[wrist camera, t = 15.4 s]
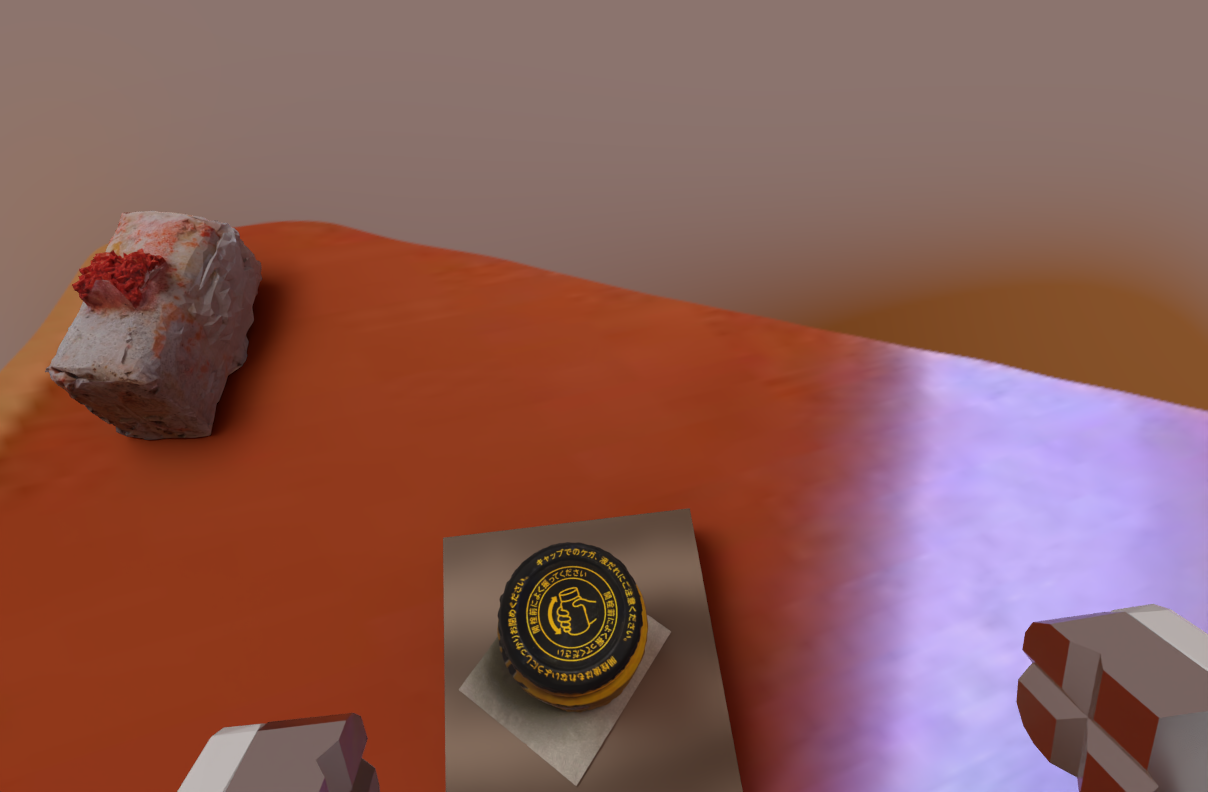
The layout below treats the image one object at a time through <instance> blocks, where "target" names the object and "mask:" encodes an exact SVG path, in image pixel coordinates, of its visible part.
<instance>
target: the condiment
mask: <svg viewBox="0 0 1208 792" xmlns="http://www.w3.org/2000/svg"><path fill="white" fill-rule="evenodd" d="M499 600H500V608H499V611H498V615H497V616H498V628H497V630H498V632H497V634H498V637H497V638H496V640H495V641H494V642H493V644H492V645H491V646H490V648H489V649H488V651H487V652H486V653H485V654H484V656H483V657H482V659H481V660H480V661H479V663H478V664H477V665H476V667H475V668H474V669H473V671H472V672H471V673H470V675H469V676H468V677H467V679H466V680H465V682H464V683H463V684H462V686H461V687H460V689H459V691H461V692H462V693H463V694H464V695H466V696H467V697H468V698H469V699H471V700H472V701H473V702H474V703H476V704H477V705H478V706H479V707H480V708H482V709H483V710H484V711H485V712H487V713H488V714H489V715H490V716H492V717H493V718H494V719H495V720H496V721H498V722H499V723H500V724H501V725H503V726H504V727H505V728H506V729H508V730H509V731H510V732H511V733H512V734H514V735H515V736H516V737H517V738H518V739H520V740H521V741H522V742H523V743H525V744H526V745H527V746H528V747H529V748H531V749H532V750H533V751H534V752H535V753H537V754H538V755H539V756H540V757H541V758H543V759H544V760H545V761H546V762H548V763H549V764H550V765H551V766H553V767H554V768H555V769H556V770H557V771H558V772H560V773H561V774H562V775H563V776H565V777H566V778H567V779H568V780H569V781H571V782H572V783H573V784H574V785H576V786H577V784H578V783H579V781H580V779H581V778H582V776H583V774H584V773H585V771H586V770H587V768H588V766H589V765H590V763H591V761H592V760H593V758H594V757H595V755H596V753H597V752H598V750H599V748H600V747H601V745H602V744H603V742H604V740H605V738H606V737H607V735H608V734H609V732H610V731H611V729H612V727H613V726H614V724H615V722H616V721H617V719H618V718H619V716H620V714H621V713H622V711H623V709H624V708H625V706H626V705H627V703H628V701H629V700H630V698H631V696H632V695H633V693H634V691H635V690H636V688H637V687H638V685H639V683H640V682H641V680H642V678H643V677H644V675H645V674H646V672H647V670H648V669H649V667H650V665H651V664H652V662H653V661H654V659H655V657H656V656H657V654H658V652H659V651H660V649H661V648H662V646H663V644H664V643H665V641H666V639H667V638H668V636H669V635H670V633H671V631H670V630H668V629H667V628H665V627H664V626H663V625H661V624H660V623H658V622H657V621H656V620H654V619H653V618H652V617H650V616H648V615H647V613H646V607H645V603H644V600H643V596H642V594H641V592H640V590H639V588H638V586H637V584H636V583H635V581H634V578H633V577H632V576H631V575H630V574H629V572H628V570H627V568H626V566H625V565H624V564H623V563H622V562H621V561H620V560H619V559H617V558H616V557H614V556H613V555H612V554H611V553H610V552H607V551H605V550H603V549H601V548H600V547H596V546H593V545H587V544H584V543H580V542H577V543H571V542H566V543H558V544H554V545H550V546H548V547H546V548H543V549H541V550H539V551H538V552H536V553H534V554H533V555H531V556H530V557H529V558H527V559H526V560H524V561H523V562H522V563H521V565H520V566H519V567H518V568H517V569H516V570H515V571H514V573H513V574H512V576H511V578H510V580H509V581H508V582H507V583H506V586H505V590H504V593H503V594H502V595H501V596H500V599H499Z"/></svg>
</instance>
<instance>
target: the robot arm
mask: <svg viewBox="0 0 1208 792" xmlns="http://www.w3.org/2000/svg"><path fill="white" fill-rule="evenodd" d="M1023 651H1024V652H1025V654H1026V655H1027V656H1028V658H1029V659H1030V660H1031V662H1032V664H1031V665H1030V666H1029V667H1028V669H1027V670H1026V671H1025V672H1024V673H1023V675H1022V676H1021V677H1020V678H1019V679H1018V690H1017V705H1018V709H1019V712H1020V716H1021V719H1022V722H1023V726H1024V727H1025V729H1026V731H1027V733H1028V734H1029V736H1030V738H1031V740H1032V741H1033V743H1034V745H1035V746H1036V747H1037V748H1038V749H1039V750H1040V752H1041V753H1042V754H1043V755H1044V756H1045V757H1046V759H1047V760H1048V761H1049V762H1050V763H1052V764H1053V765H1055V766H1057V767H1059V768H1061V769H1063V770H1065V771H1066V772H1068V773H1070V774H1072V775H1074V776H1076V777H1077V779H1078V788H1079V792H1208V634H1206V633H1205V632H1204V631H1202V630H1201V629H1199V628H1198V627H1196V626H1195V625H1193V624H1192V623H1190V622H1189V621H1187V620H1186V619H1184V618H1183V617H1181V616H1180V615H1178V614H1177V613H1175V612H1174V611H1172V610H1170V609H1167V608H1164V607H1161V606H1158V605H1155V604H1150V605H1143V606H1137V607H1130V608H1124V609H1117V610H1113V611H1111V612H1101V613H1094V614H1087V615H1080V616H1073V617H1066V618H1059V619H1052V620H1045V621H1038V622H1033V623H1032V624H1031V625H1030V627H1029V628H1028V630H1027V631H1026V632H1025V637H1024V644H1023ZM367 739H368V738H367V735H366V732H365V729H364V725H363V722H362V719H361V716H359V715H357V714H355V713H347V714H338V715H329V716H320V717H310V718H301V719H292V720H283V721H273V722H268V723H267V724H255V725H245V726H236V727H226V728H223V729H221V730H220V731H219V732H217V733H216V734H215V735H213V736H212V737H211V738H210V739H209V741H208V743H207V744H206V746H205V747H204V749H203V751H202V752H201V754H200V756H199V757H198V759H197V760H196V762H195V764H194V765H193V767H192V769H191V770H190V772H189V773H188V775H187V777H186V778H185V780H184V782H183V783H182V785H181V786H180V788H179V790H178V791H177V792H380V789H379V782H378V778H377V774H376V770H375V768H374V767H373V766H372V765H370V764H369V763H368V762H366V761H365V760H364V759H362V754H363V751H364V748H365V745H366V742H367Z"/></svg>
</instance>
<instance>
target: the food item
mask: <svg viewBox="0 0 1208 792" xmlns="http://www.w3.org/2000/svg"><path fill="white" fill-rule="evenodd" d="M95 255H96V256H95V257H93V258H94V259H93V260H91V265H90V266H89V267H85V268H82V269H79V271H80V272H81V274H82V275H81V277H80V276H78V277H79V279H80V280H79V281H78V282H76V283H74V284H72V286H73V288H74V290H75V291H77V292H78V293H79V297H80V298H81V299H82V300H83V303H82V306H81V308H80V311H79V313H78V314H77V317H76V318H75V319H74V321H73V323H72V325H71V326H70V327H69V328H68V332H67V334H66V336H65V337H64V339H63V341H62V342H61V344H60V346H59V348H58V351H57V354H56V356H55V357H54V358H53V359H52V362H51V364H50V366H49V367H47V368H46V371H45V372H49V373H50V376H51V379H52V380H53V381H54V382H55V383H56V384H57V385H58V386H60V387H62V388H63V389H65V390H66V391H67V392H68V393H69V395H70V397H71V398H73V399H75V400H76V401H78V402H79V403H80V404H84V405H85V406H86V407H87V409H88V410H90V412H92V413H93V414H95V415H97V416H98V417H99V418H100V419H102V420H103V421H105V422H107V423H108V424H113V425H114V426H116V432H118V433H120V434H123V435H125V436H127V437H135V438H143V439H145V440H153V439H162V438H195V437H204V436H209V435H211V431H212V426H213V421H214V417H215V411H216V405H217V402H219V400H220V398H221V395H222V392H223V390H224V387H225V384H226V381H227V377H228V375H230V374H231V373H233V372H234V371H235V370H237V369H238V368H240V367H241V366H243V363H244V362H245V361H246V358H247V353H246V352H247V348H248V343H249V341H248V339H247V337H246V334H247V331H248V329H249V328H250V326H251V325H252V323H253V321H254V316H253V309H252V306H253V303H254V300H255V296H256V295H257V294H258V286H259V284H260V281H261V280H262V276H261V263H260V262H259V261H257V260H256V259H255V256H254V254H253V253H252V252H251V251H250V250H249V248H247V247H246V246H245V245H244V243H243V241H242V240H241V239H240V235H239V233H238V231H237V230H236V229H235V228H231V226H230V225H229V224H228V223H220V222H218V221H208V220H207V219H205V218H203V217H198V216H192V215H186V214H179V213H168V212H157V211H148V212H133V213H122V215H121V218H120V221H119V224H118V229H116V231H115V235H114V236H113V237H112V238H111V240H110V242H109V244H108V247H107V250H106V252H105V253H98V254H95ZM125 433H126V434H125Z"/></svg>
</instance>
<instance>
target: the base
mask: <svg viewBox="0 0 1208 792" xmlns="http://www.w3.org/2000/svg"><path fill="white" fill-rule="evenodd" d="M566 542H571V543H577V542H580V543H584V544H587V545H593V546H596V547H600V548H601V549H603V550H605V551H607V552H610V553H611V554H612V555H613V556H614V557H616V558H617V559H619V560H620V561H621V562H622V563H623V564H624V565H625V566H626V568H627V570H628V572H629V574H630V575H631V576H632V577H633V578H634V581H635V583H636V584H637V586H638V588H639V590H640V592H641V594H642V596H643V600H644V603H645V607H646V613H647V615H648V616H650V617H652V618H653V619H654V620H656V621H657V622H658V623H660V624H661V625H663V626H664V627H665V628H667V629H668V630H670V631H671V633H670V635H669V636H668V638H667V639H666V641H665V643H664V644H663V646H662V648H661V649H660V651H659V652H658V654H657V656H656V657H655V659H654V661H653V662H652V664H651V665H650V667H649V669H648V670H647V672H646V674H645V675H644V677H643V678H642V680H641V682H640V683H639V685H638V687H637V688H636V690H635V691H634V693H633V695H632V696H631V698H630V700H629V701H628V703H627V705H626V706H625V708H624V709H623V711H622V713H621V714H620V716H619V718H618V719H617V721H616V722H615V724H614V726H613V727H612V729H611V731H610V732H609V734H608V735H607V737H606V738H605V740H604V742H603V744H602V745H601V747H600V748H599V750H598V752H597V753H596V755H595V757H594V758H593V760H592V761H591V763H590V765H589V766H588V768H587V770H586V771H585V773H584V774H583V776H582V778H581V779H580V781H579V783H578V784H577V786H576V785H574V784H573V783H572V782H571V781H569V780H568V779H567V778H566V777H565V776H563V775H562V774H561V773H560V772H558V771H557V770H556V769H555V768H554V767H553V766H551V765H550V764H549V763H548V762H546V761H545V760H544V759H543V758H541V757H540V756H539V755H538V754H537V753H535V752H534V751H533V750H532V749H531V748H529V747H528V746H527V745H526V744H525V743H523V742H522V741H521V740H520V739H518V738H517V737H516V736H515V735H514V734H512V733H511V732H510V731H509V730H508V729H506V728H505V727H504V726H503V725H501V724H500V723H499V722H498V721H496V720H495V719H494V718H493V717H492V716H490V715H489V714H488V713H487V712H485V711H484V710H483V709H482V708H480V707H479V706H478V705H477V704H476V703H474V702H473V701H472V700H471V699H469V698H468V697H467V696H466V695H464V694H463V693H462V692H461V691H459V689H460V687H461V686H462V684H463V683H464V682H465V680H466V679H467V677H468V676H469V675H470V673H471V672H472V671H473V669H474V668H475V667H476V665H477V664H478V663H479V661H480V660H481V659H482V657H483V656H484V654H485V653H486V652H487V651H488V649H489V648H490V646H491V645H492V644H493V642H494V641H495V640H496V638H497V637H498V634H497V632H498V630H497V628H498V616H497V615H498V611H499V608H500V600H499V599H500V596H501V595H502V594H503V593H504V590H505V586H506V583H507V582H508V581H509V580H510V578H511V576H512V574H513V573H514V571H515V570H516V569H517V568H518V567H519V566H520V565H521V563H522V562H523V561H524V560H526V559H527V558H529V557H530V556H531V555H533V554H534V553H536V552H538V551H539V550H541V549H543V548H546V547H548V546H550V545H554V544H558V543H566ZM443 564H444V659H445V753H446V792H743V790H742V784H741V779H740V774H739V768H738V763H737V758H736V753H735V747H734V742H733V737H732V731H731V726H730V721H729V715H728V710H727V705H726V699H725V694H724V689H723V683H722V678H721V673H720V667H719V662H718V657H717V652H716V646H715V641H714V636H713V630H712V625H711V620H710V614H709V609H708V604H707V598H706V593H705V588H704V582H703V577H702V572H701V567H700V561H699V556H698V551H697V545H696V540H695V535H694V529H693V524H692V519H691V513H690V508H689V509H681V510H673V511H664V512H656V513H647V514H639V515H631V516H622V517H614V518H606V519H597V520H589V521H581V522H572V523H564V524H556V525H547V526H539V527H530V528H522V529H514V530H505V531H497V532H489V533H480V534H472V535H464V536H455V537H447V538H443Z"/></svg>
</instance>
